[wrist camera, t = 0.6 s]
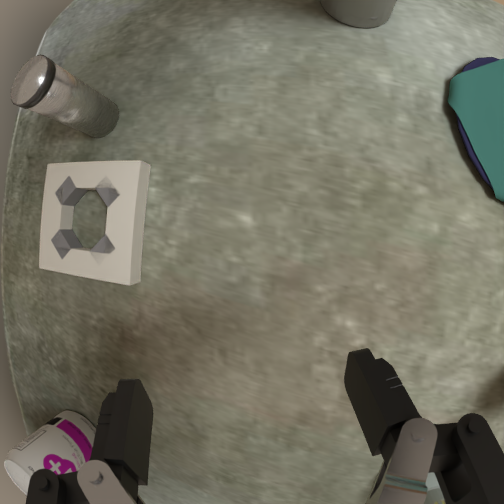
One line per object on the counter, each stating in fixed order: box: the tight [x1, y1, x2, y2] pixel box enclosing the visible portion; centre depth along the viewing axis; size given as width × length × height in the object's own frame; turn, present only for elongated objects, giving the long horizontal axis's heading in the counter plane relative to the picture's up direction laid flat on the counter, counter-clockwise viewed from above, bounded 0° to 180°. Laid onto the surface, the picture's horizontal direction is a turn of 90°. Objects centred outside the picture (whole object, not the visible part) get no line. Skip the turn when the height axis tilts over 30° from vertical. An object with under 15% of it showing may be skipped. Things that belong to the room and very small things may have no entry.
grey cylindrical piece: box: [11, 55, 119, 138], centre depth 27 cm, size 5×5×14 cm
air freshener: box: [424, 472, 446, 504], centre depth 26 cm, size 11×8×10 cm
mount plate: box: [39, 161, 151, 285], centre depth 33 cm, size 13×14×2 cm
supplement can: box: [4, 410, 96, 495], centre depth 30 cm, size 8×8×15 cm
